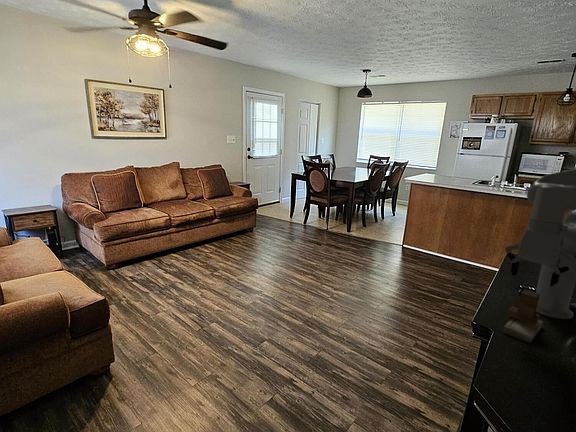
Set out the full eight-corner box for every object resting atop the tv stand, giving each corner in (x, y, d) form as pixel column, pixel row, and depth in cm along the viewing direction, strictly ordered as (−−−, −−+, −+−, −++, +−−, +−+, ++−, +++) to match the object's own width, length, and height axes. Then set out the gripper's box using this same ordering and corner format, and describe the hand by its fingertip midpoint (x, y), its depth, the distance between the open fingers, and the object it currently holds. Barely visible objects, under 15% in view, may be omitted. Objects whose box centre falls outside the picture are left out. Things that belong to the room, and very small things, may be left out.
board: (516, 317, 107) (517, 312, 106) (541, 326, 102) (543, 321, 101) (502, 332, 98) (503, 326, 97) (530, 343, 93) (531, 337, 92)
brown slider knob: (510, 316, 106) (516, 286, 104) (536, 326, 101) (543, 294, 99) (506, 320, 104) (512, 289, 102) (533, 330, 98) (540, 298, 96)
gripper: (585, 231, 91) (571, 286, 94) (514, 219, 104) (504, 268, 107) (580, 234, 86) (566, 292, 90) (507, 222, 99) (497, 273, 102)
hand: (532, 279), depth 98 cm, fingers open, 9 cm apart
